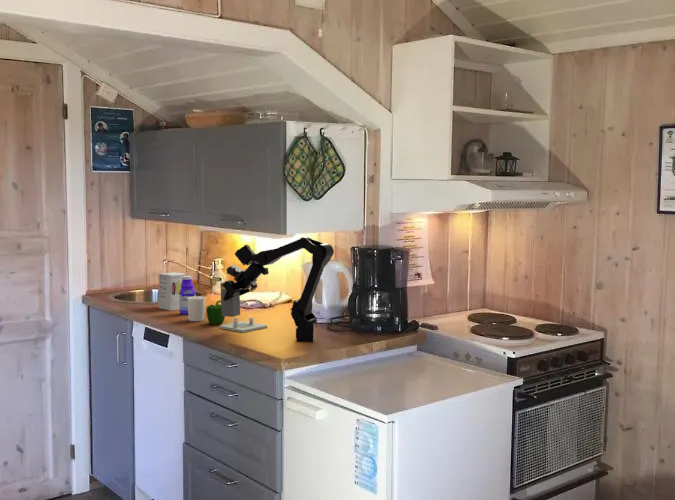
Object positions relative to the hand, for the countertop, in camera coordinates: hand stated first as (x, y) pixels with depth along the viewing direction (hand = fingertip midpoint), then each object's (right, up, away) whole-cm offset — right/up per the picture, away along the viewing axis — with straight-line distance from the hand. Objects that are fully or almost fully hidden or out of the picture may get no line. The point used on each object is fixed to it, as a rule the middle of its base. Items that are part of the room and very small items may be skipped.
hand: (227, 299), depth 303 cm
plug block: (+1, -7, 0) cm, 7 cm away
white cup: (-17, -11, +24) cm, 31 cm away
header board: (+5, -13, +9) cm, 16 cm away
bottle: (-24, -9, +38) cm, 46 cm away
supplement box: (-34, -8, +51) cm, 62 cm away
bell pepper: (-7, -12, +17) cm, 22 cm away
